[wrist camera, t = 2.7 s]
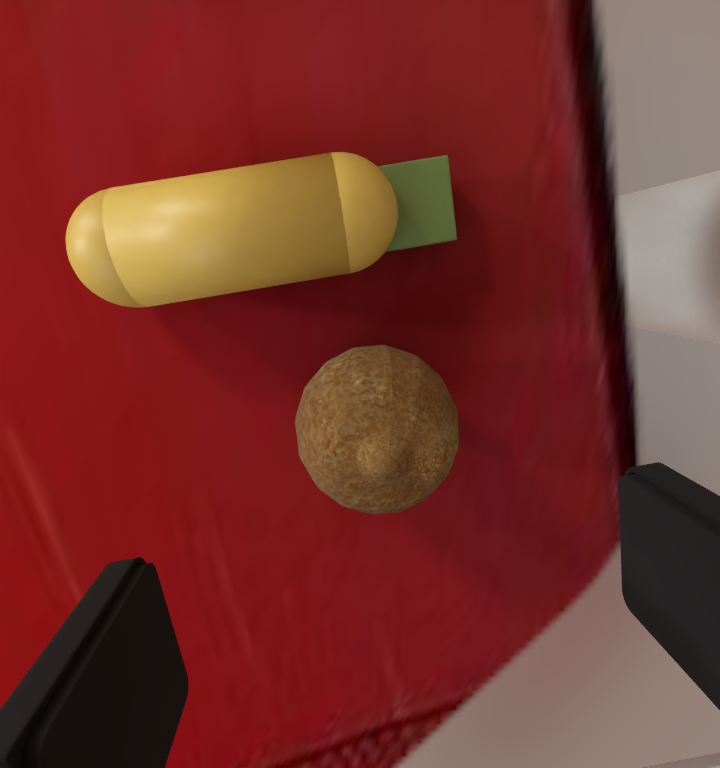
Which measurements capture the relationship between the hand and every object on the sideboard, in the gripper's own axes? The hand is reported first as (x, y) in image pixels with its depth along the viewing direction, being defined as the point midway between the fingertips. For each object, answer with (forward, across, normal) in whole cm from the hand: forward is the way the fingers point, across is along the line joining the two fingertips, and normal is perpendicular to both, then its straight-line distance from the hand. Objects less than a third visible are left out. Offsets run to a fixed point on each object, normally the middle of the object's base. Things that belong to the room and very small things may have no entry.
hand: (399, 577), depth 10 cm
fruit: (+14, -1, 0) cm, 14 cm away
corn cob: (+13, +2, -8) cm, 16 cm away
